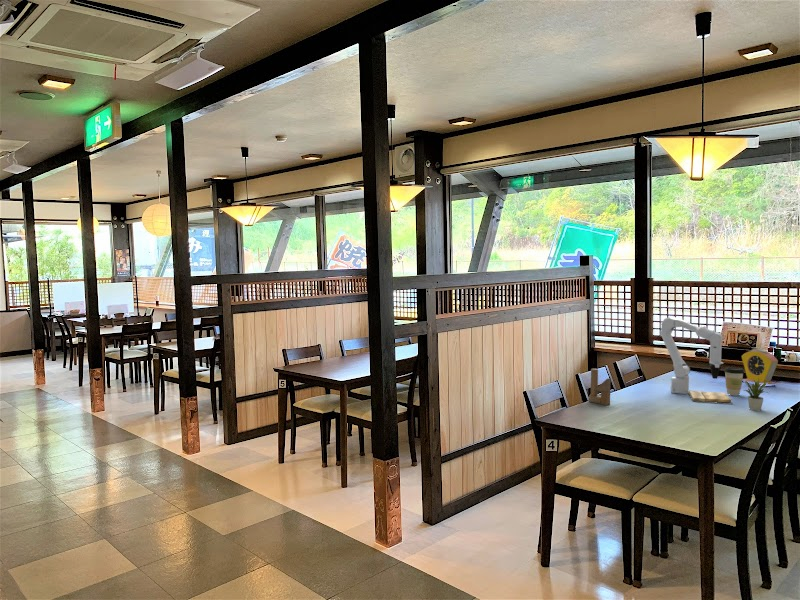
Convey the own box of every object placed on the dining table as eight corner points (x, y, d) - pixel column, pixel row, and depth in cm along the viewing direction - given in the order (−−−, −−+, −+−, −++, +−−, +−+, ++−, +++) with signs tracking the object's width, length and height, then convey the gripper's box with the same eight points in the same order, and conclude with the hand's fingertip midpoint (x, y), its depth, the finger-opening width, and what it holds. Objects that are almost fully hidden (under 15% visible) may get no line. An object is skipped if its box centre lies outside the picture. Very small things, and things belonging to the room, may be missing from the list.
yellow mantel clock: (737, 381, 378) (738, 347, 377) (749, 380, 381) (750, 346, 380) (768, 388, 357) (769, 352, 356) (780, 387, 360) (781, 351, 359)
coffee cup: (741, 397, 333) (742, 370, 332) (722, 395, 339) (722, 368, 338) (744, 394, 341) (745, 368, 340) (725, 392, 347) (725, 366, 346)
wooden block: (606, 405, 316) (607, 371, 315) (588, 401, 325) (589, 368, 323) (610, 404, 319) (611, 370, 317) (592, 400, 327) (593, 368, 326)
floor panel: (693, 401, 325) (693, 397, 325) (688, 393, 343) (688, 390, 343) (732, 404, 318) (732, 400, 318) (725, 396, 337) (726, 392, 337)
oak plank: (706, 401, 323) (706, 398, 323) (703, 397, 332) (703, 395, 332) (731, 402, 319) (731, 399, 319) (728, 398, 328) (728, 396, 328)
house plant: (778, 414, 297) (779, 381, 296) (747, 412, 300) (748, 380, 299) (766, 407, 311) (767, 376, 310) (737, 406, 314) (738, 375, 313)
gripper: (725, 356, 326) (725, 381, 327) (721, 352, 339) (720, 376, 340) (711, 355, 328) (710, 380, 329) (707, 352, 342) (706, 375, 343)
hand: (714, 378), depth 335 cm, fingers closed
